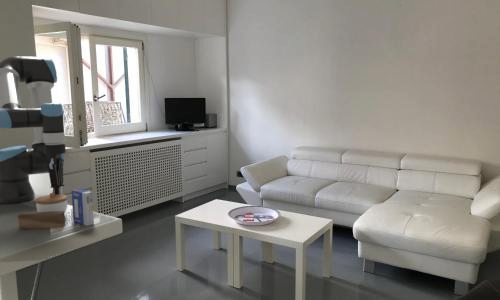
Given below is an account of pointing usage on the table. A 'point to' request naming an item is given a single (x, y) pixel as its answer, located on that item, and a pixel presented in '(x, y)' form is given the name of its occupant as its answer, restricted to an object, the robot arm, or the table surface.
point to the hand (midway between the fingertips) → (58, 203)
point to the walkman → (82, 207)
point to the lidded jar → (51, 203)
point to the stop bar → (41, 220)
